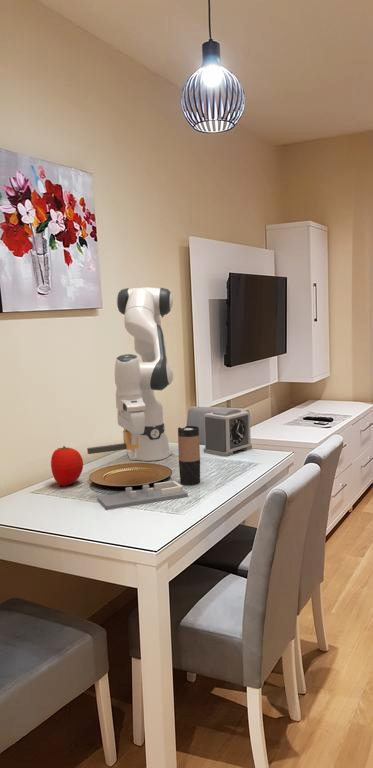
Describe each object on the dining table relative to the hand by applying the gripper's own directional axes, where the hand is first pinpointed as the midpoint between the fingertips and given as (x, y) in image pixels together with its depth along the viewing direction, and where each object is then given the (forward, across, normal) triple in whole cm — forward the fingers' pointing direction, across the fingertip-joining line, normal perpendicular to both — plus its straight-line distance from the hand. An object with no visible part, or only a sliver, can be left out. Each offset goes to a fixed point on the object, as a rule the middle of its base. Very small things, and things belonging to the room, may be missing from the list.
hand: (131, 442), depth 213 cm
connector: (+2, 0, -7) cm, 7 cm away
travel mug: (+18, -1, +22) cm, 28 cm away
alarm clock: (+18, -37, +54) cm, 68 cm away
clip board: (+17, +8, +1) cm, 19 cm away
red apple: (+17, -20, -19) cm, 33 cm away
